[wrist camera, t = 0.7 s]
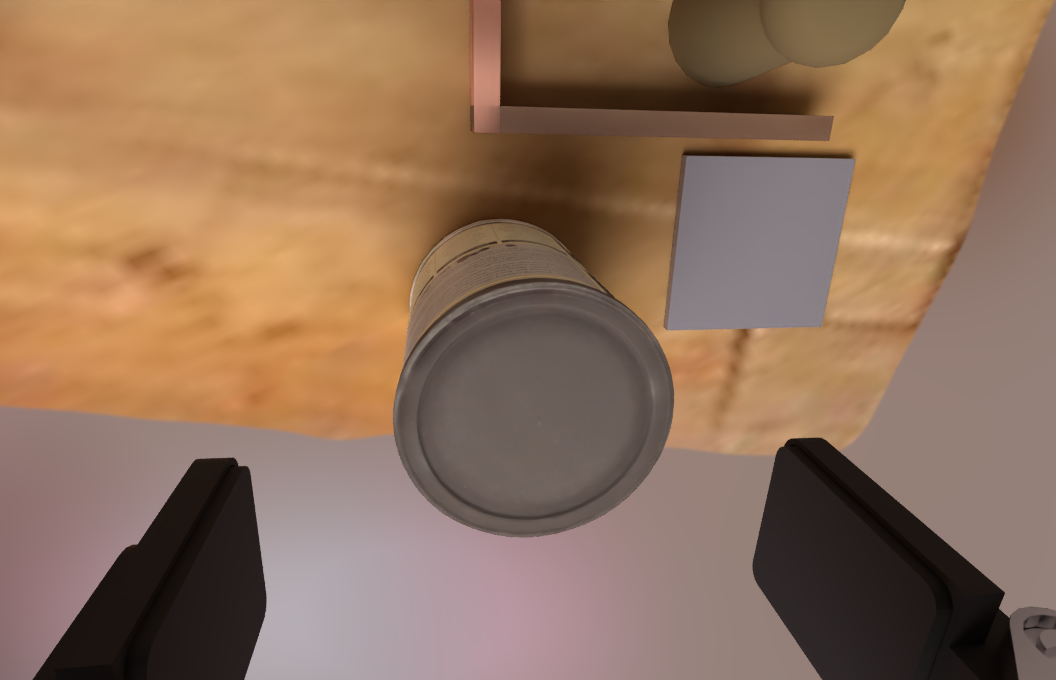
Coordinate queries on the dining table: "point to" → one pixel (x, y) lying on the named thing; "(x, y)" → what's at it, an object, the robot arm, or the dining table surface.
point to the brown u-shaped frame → (607, 121)
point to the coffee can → (525, 385)
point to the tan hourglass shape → (772, 34)
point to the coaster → (755, 241)
